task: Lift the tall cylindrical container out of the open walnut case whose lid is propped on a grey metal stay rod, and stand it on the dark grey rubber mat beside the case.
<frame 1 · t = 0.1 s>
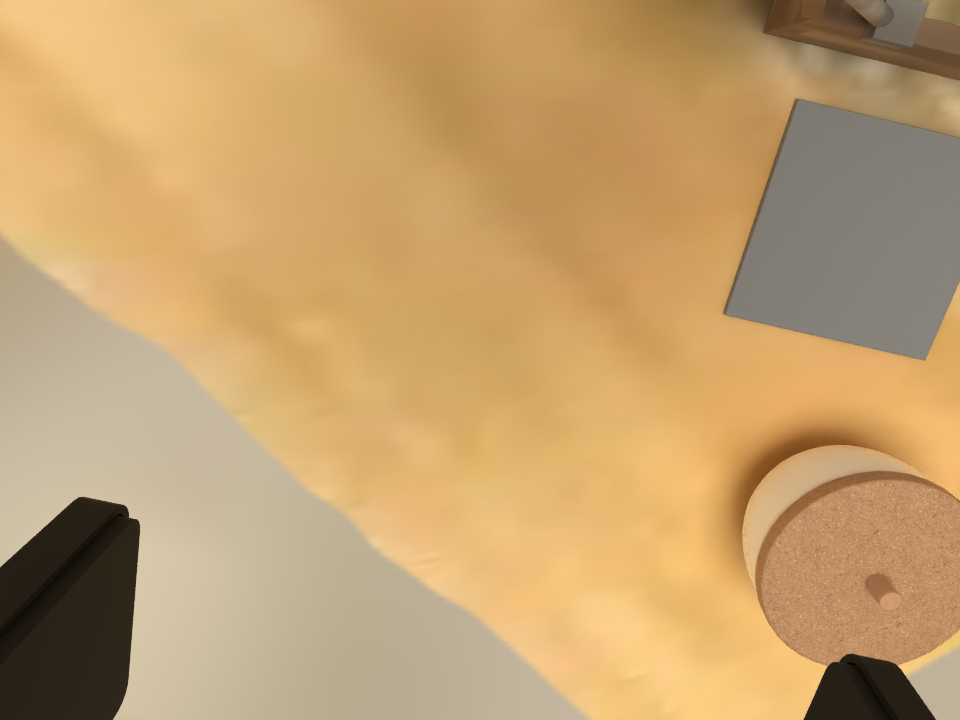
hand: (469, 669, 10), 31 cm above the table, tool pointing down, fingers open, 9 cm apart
lidded jar: (811, 499, 44), on the table
mat: (861, 235, 39), on the table
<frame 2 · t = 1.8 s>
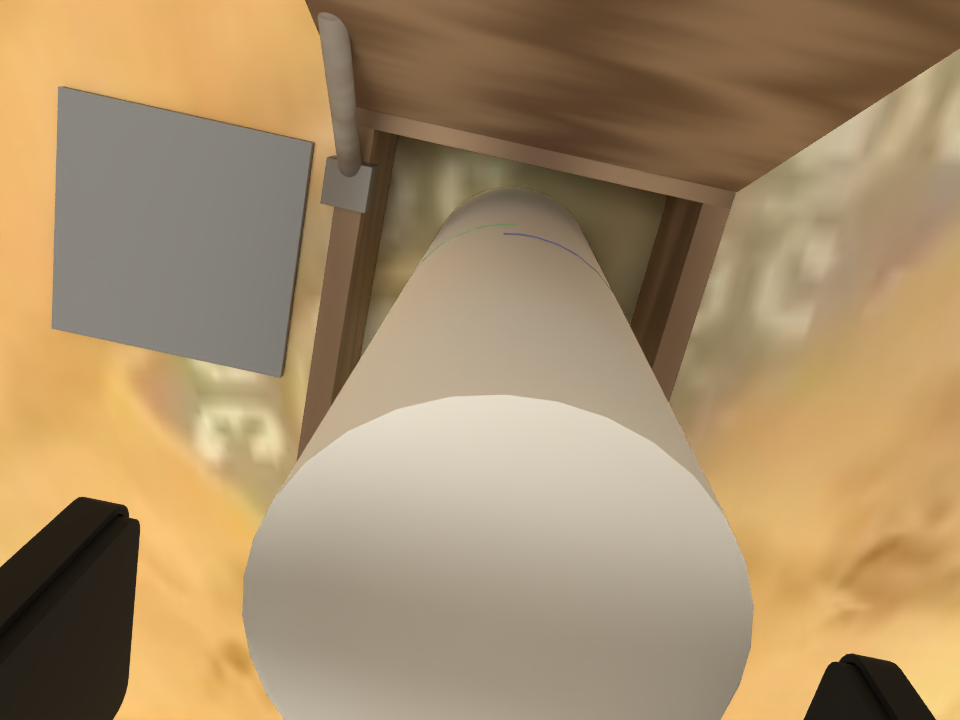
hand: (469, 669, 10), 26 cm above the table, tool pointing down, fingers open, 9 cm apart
cylindrical container: (510, 266, 34), resting in case
mat: (179, 238, 35), on the table
case: (500, 309, 35), on the table
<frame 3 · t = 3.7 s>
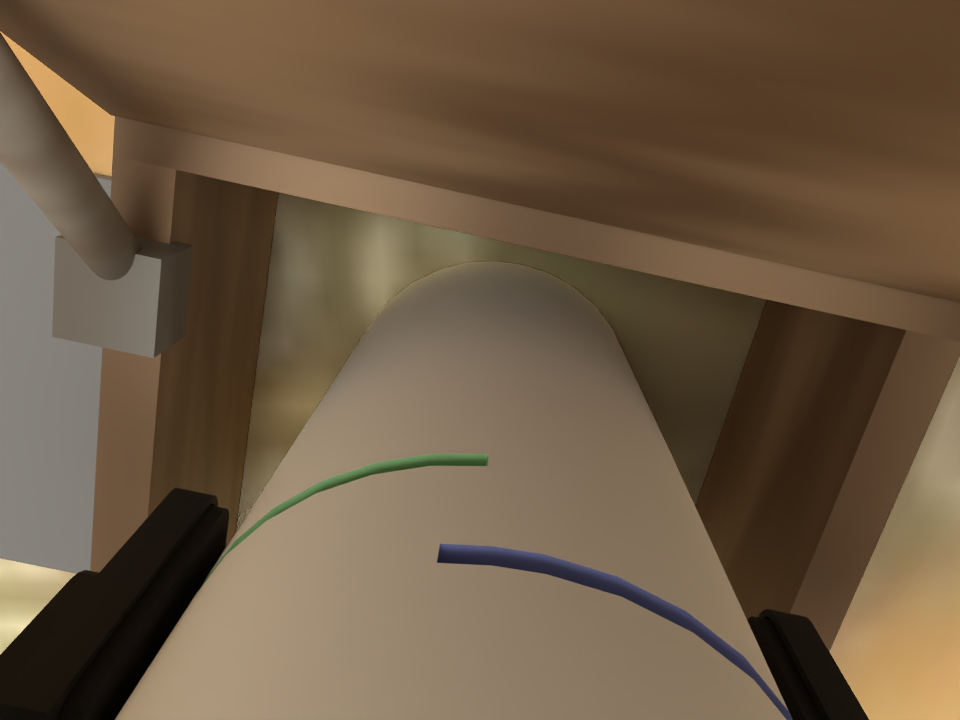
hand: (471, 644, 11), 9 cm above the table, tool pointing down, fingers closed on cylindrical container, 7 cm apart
cylindrical container: (489, 396, 20), resting in case, touching gripper
case: (473, 467, 20), on the table
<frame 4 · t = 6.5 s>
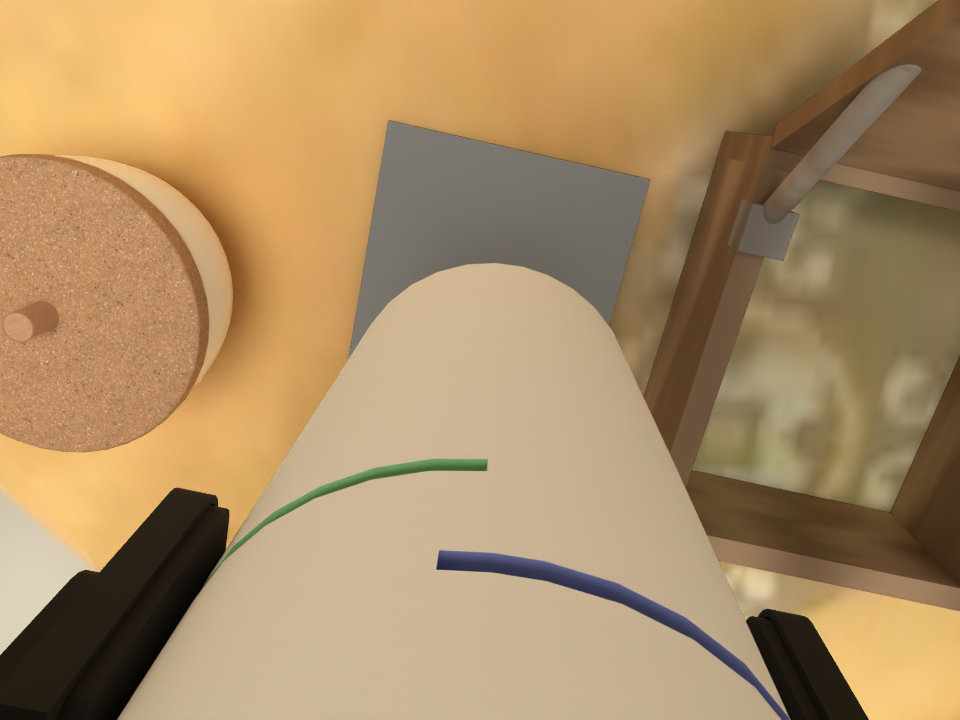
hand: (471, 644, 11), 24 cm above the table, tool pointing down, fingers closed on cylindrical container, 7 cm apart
lidded jar: (149, 268, 34), on the table
cylindrical container: (489, 398, 20), point 14 cm above the table, touching gripper
mat: (491, 277, 33), on the table
case: (821, 349, 34), on the table
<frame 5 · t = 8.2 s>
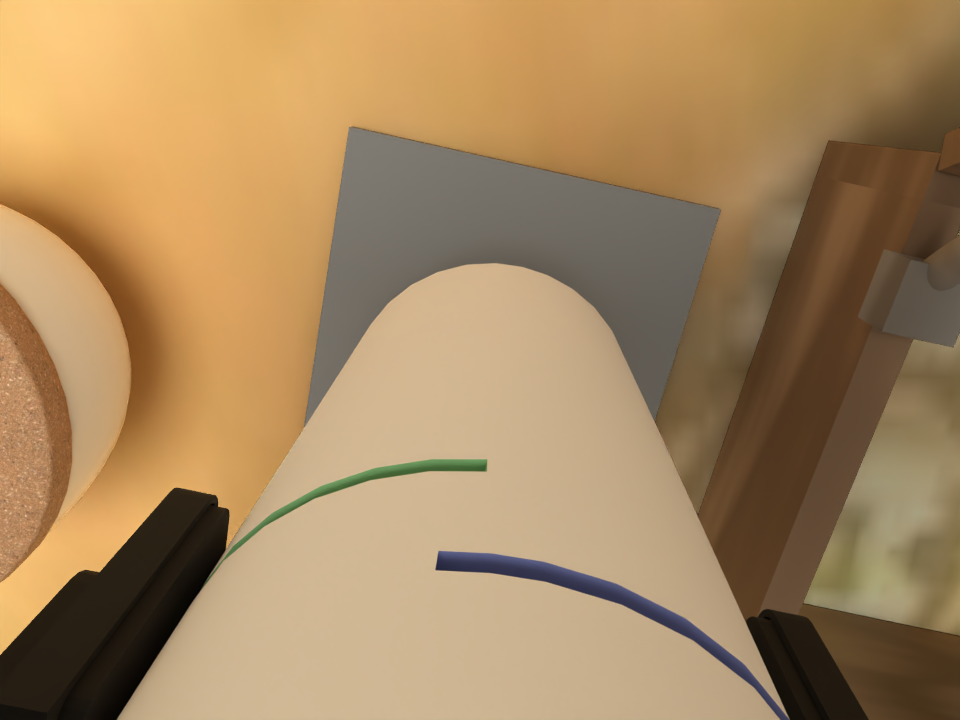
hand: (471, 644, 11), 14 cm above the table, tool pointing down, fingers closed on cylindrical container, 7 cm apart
lidded jar: (27, 328, 25), on the table
cylindrical container: (489, 398, 20), point 5 cm above the table, touching gripper
mat: (495, 342, 24), on the table
case: (949, 440, 24), on the table
when the fingers open (10 cm above the table, at t = 9.5 s): cylindrical container stays where it is, resting on mat.
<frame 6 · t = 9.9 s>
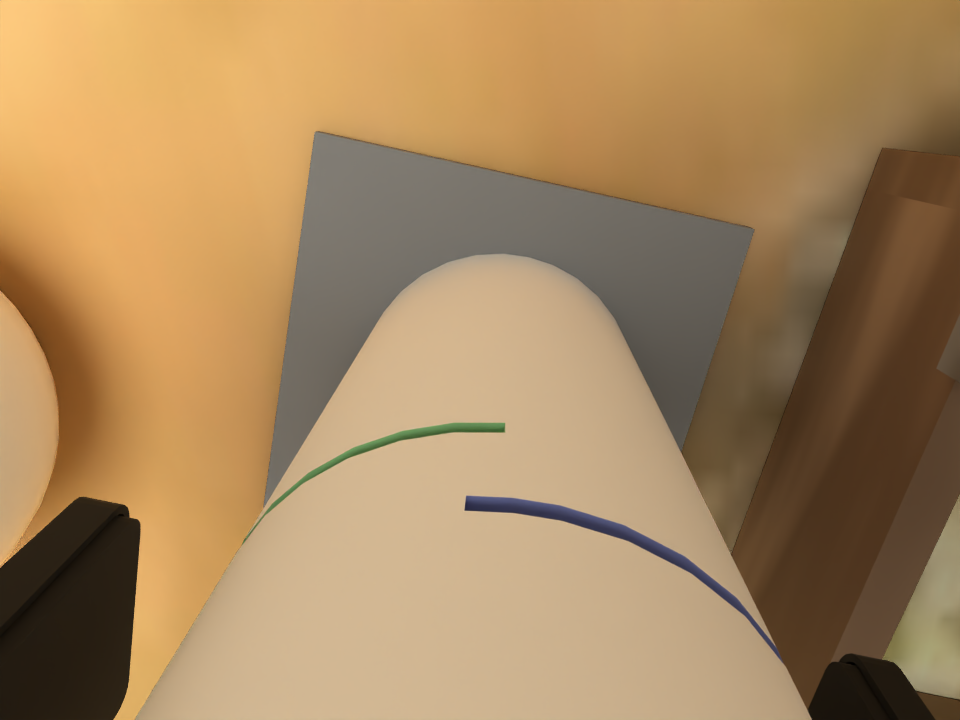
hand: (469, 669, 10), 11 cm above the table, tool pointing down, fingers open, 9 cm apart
cylindrical container: (496, 383, 20), resting on mat
mat: (489, 382, 21), on the table
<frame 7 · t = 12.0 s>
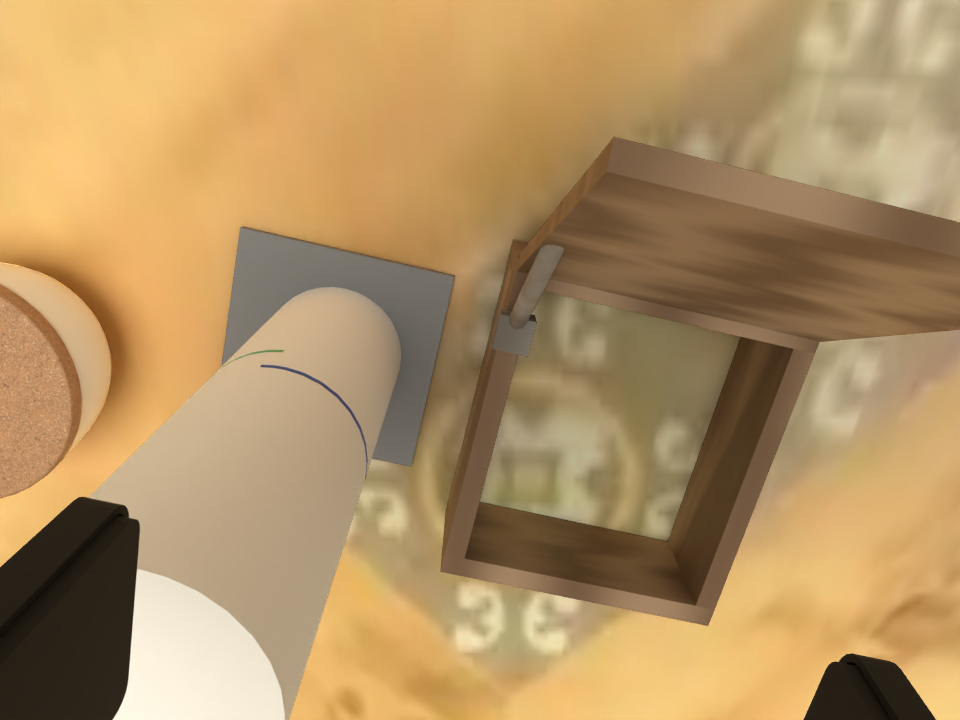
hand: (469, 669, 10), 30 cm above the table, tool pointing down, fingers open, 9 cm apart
lidded jar: (46, 340, 41), on the table
cylindrical container: (334, 351, 40), resting on mat
mat: (331, 351, 40), on the table
case: (602, 410, 42), on the table
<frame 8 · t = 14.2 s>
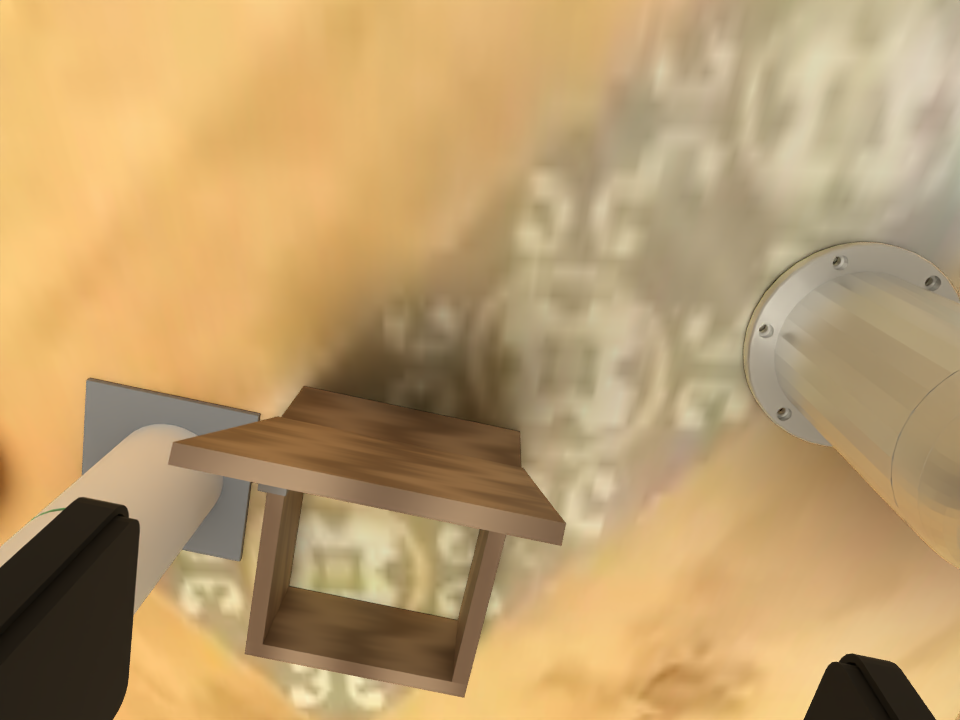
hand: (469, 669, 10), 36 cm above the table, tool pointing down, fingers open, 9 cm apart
cylindrical container: (170, 472, 50), resting on mat
mat: (168, 471, 50), on the table
case: (390, 517, 51), on the table
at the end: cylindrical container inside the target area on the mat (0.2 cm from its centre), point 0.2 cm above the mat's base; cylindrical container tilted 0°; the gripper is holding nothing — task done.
